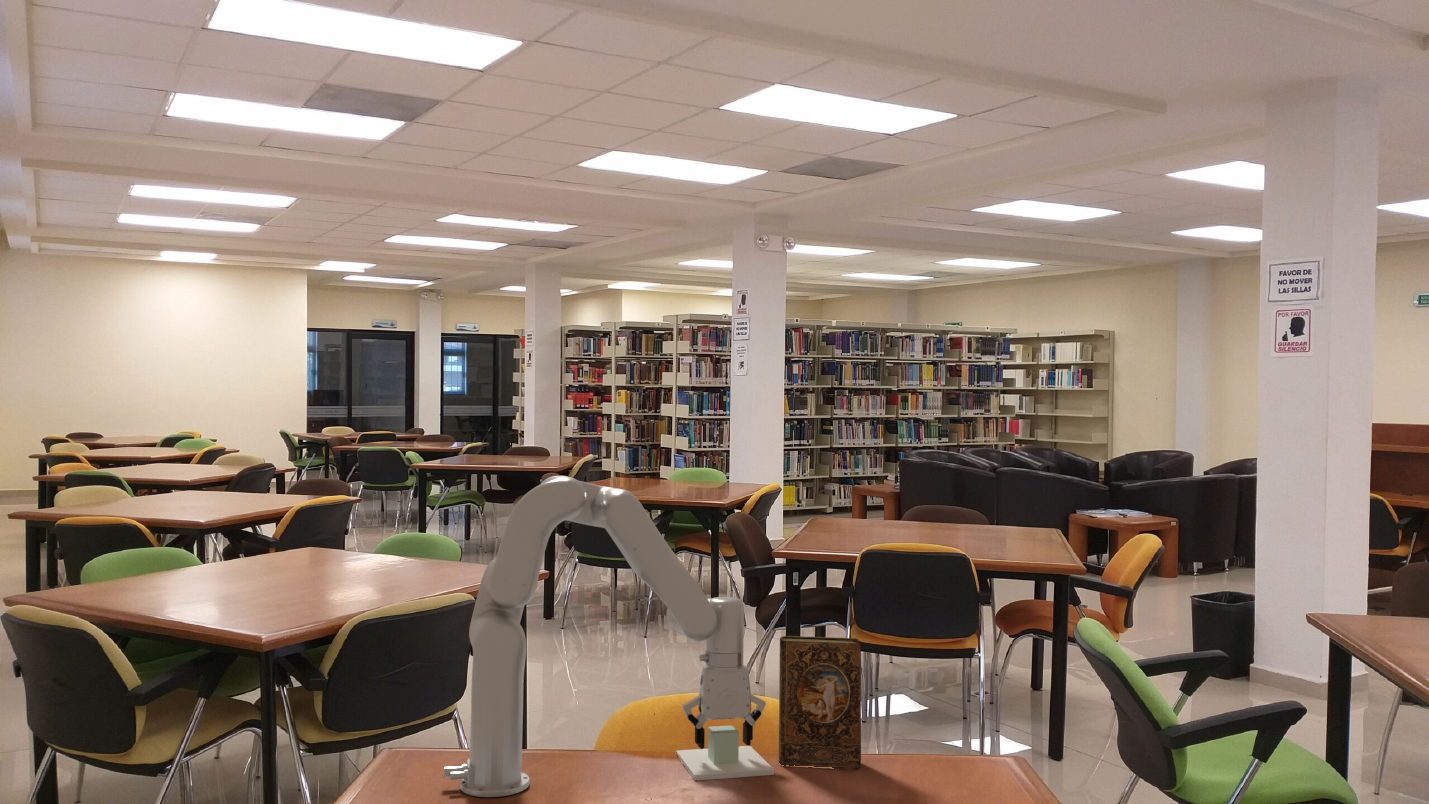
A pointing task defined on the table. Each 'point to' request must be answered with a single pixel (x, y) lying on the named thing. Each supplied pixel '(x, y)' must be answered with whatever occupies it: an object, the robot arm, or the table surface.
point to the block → (723, 744)
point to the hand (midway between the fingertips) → (723, 745)
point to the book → (820, 702)
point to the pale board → (706, 770)
